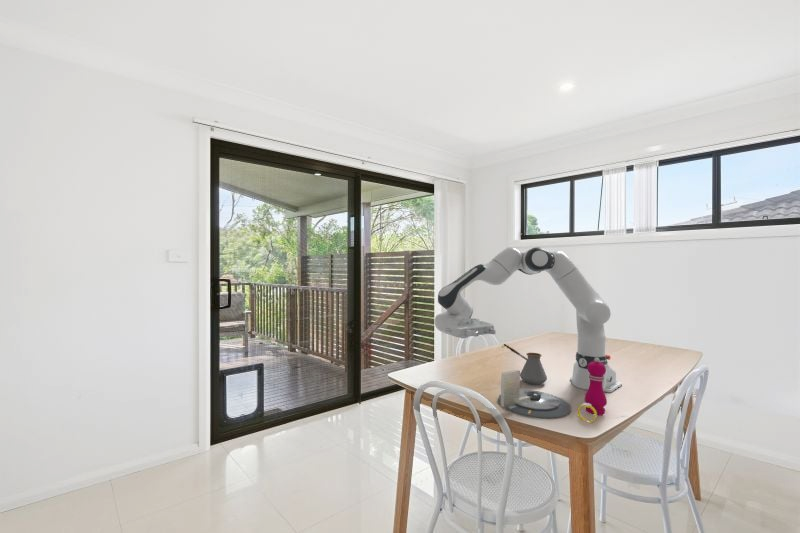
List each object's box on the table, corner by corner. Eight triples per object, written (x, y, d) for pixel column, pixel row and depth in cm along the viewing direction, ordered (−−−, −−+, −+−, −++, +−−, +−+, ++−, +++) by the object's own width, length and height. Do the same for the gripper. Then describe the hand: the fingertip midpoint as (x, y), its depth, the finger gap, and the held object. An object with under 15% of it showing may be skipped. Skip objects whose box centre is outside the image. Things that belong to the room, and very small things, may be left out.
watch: (576, 420, 132) (576, 403, 132) (579, 418, 134) (578, 401, 134) (595, 424, 128) (594, 406, 128) (598, 422, 130) (597, 404, 130)
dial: (530, 390, 158) (531, 358, 157) (569, 404, 142) (570, 369, 142) (484, 401, 144) (485, 366, 144) (522, 419, 129) (523, 380, 128)
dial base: (528, 388, 163) (528, 385, 163) (585, 409, 141) (585, 406, 141) (484, 399, 149) (484, 396, 149) (539, 424, 127) (540, 420, 127)
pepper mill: (609, 417, 135) (611, 360, 134) (587, 414, 136) (589, 359, 136) (602, 409, 142) (604, 355, 141) (581, 407, 143) (583, 354, 143)
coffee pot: (551, 383, 171) (552, 349, 171) (539, 389, 163) (540, 354, 163) (508, 372, 186) (509, 341, 186) (495, 377, 178) (496, 345, 178)
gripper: (443, 321, 156) (465, 327, 145) (479, 318, 167) (503, 323, 156) (442, 337, 157) (465, 343, 145) (479, 332, 167) (503, 338, 156)
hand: (485, 333), depth 150 cm, fingers open, 8 cm apart
